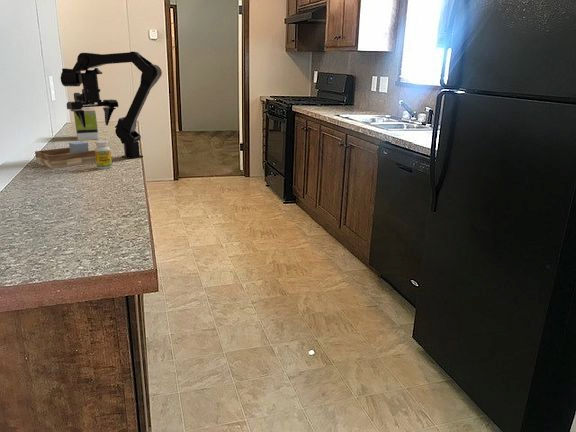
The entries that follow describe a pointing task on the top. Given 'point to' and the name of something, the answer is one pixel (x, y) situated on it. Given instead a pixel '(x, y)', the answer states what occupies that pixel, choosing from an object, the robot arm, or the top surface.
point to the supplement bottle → (103, 155)
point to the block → (78, 147)
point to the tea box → (87, 125)
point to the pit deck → (64, 157)
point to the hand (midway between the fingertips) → (95, 126)
